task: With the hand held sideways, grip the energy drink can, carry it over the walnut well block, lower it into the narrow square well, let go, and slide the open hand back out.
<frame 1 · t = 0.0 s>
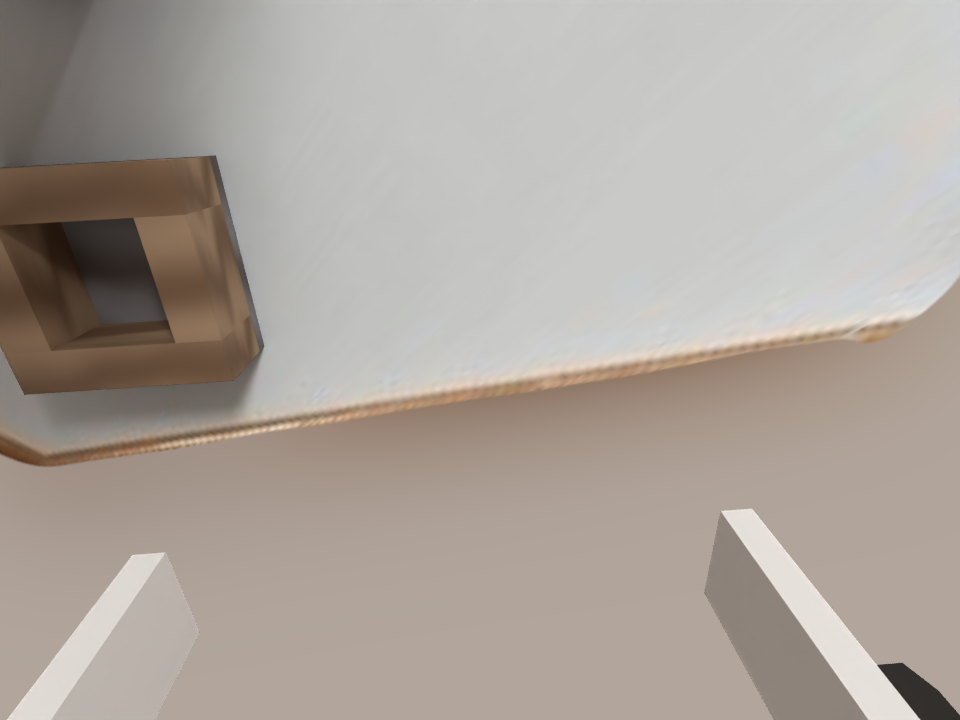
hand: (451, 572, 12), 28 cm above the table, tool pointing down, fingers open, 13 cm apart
well block: (145, 264, 36), on the table
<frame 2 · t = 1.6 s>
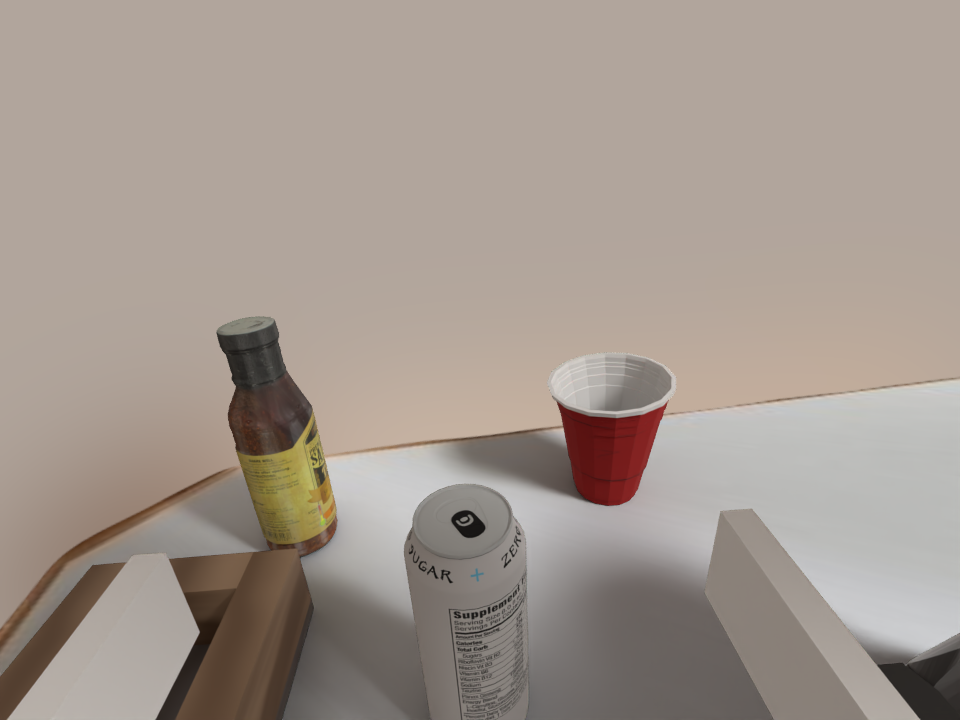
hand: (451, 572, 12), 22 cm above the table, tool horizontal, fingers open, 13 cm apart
energy drink can: (479, 708, 30), on the table
plastic cup: (602, 488, 48), on the table
well block: (170, 717, 30), on the table
sauce bottle: (304, 535, 44), on the table
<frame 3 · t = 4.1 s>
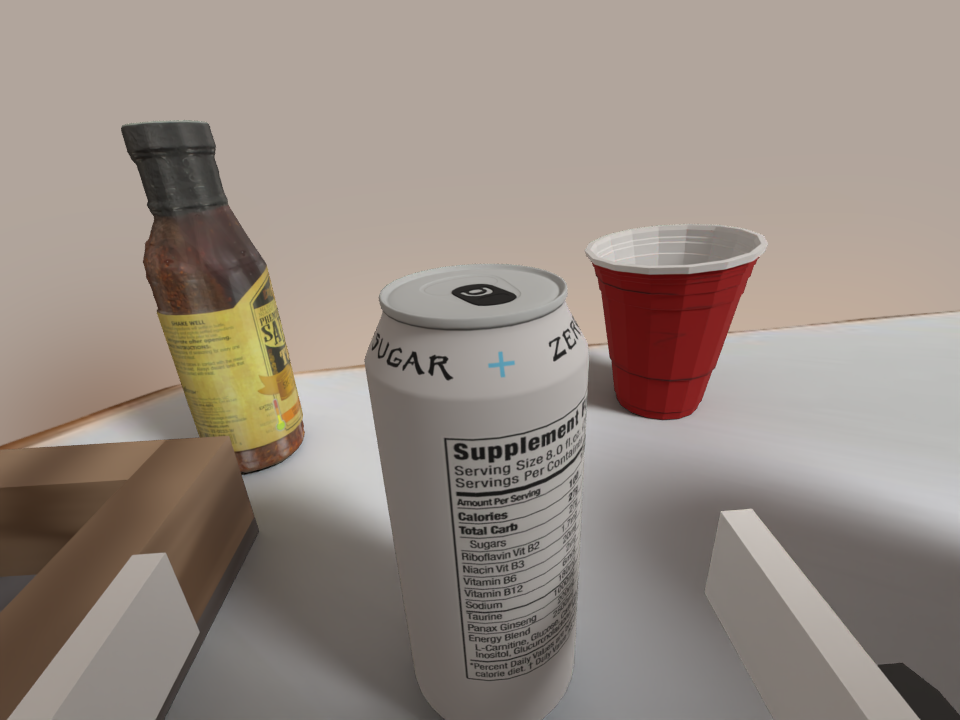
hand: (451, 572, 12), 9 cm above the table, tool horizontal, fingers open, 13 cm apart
energy drink can: (494, 666, 19), on the table
plastic cup: (653, 402, 37), on the table
well block: (18, 670, 20), on the table
sauce bottle: (260, 450, 33), on the table
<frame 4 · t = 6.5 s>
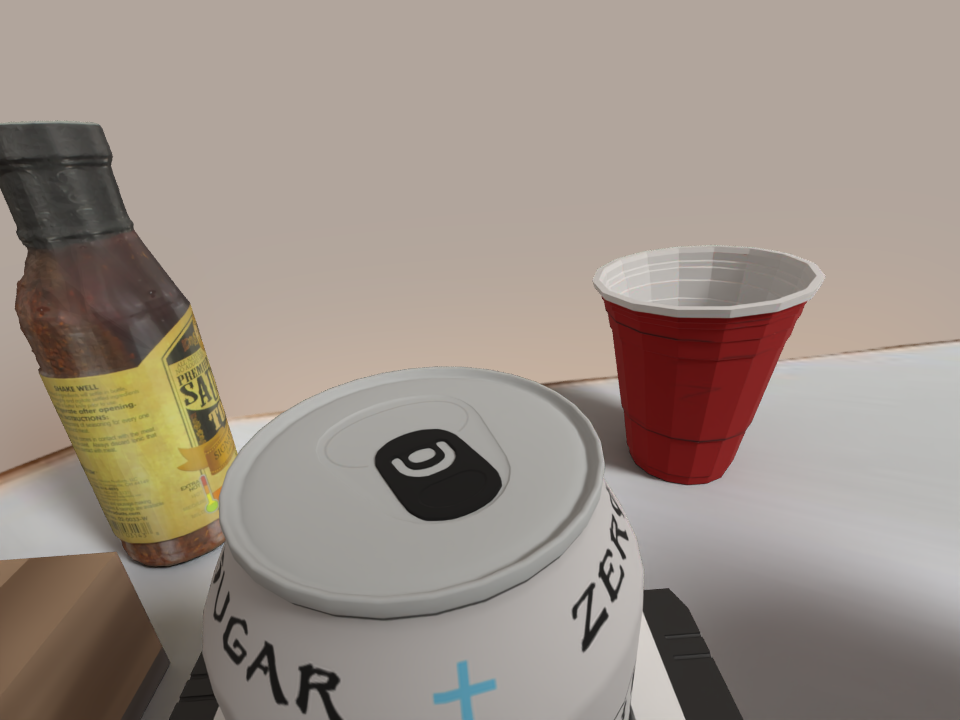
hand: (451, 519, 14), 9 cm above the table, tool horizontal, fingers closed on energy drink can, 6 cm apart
plastic cup: (673, 459, 30), on the table
sauce bottle: (193, 528, 27), on the table
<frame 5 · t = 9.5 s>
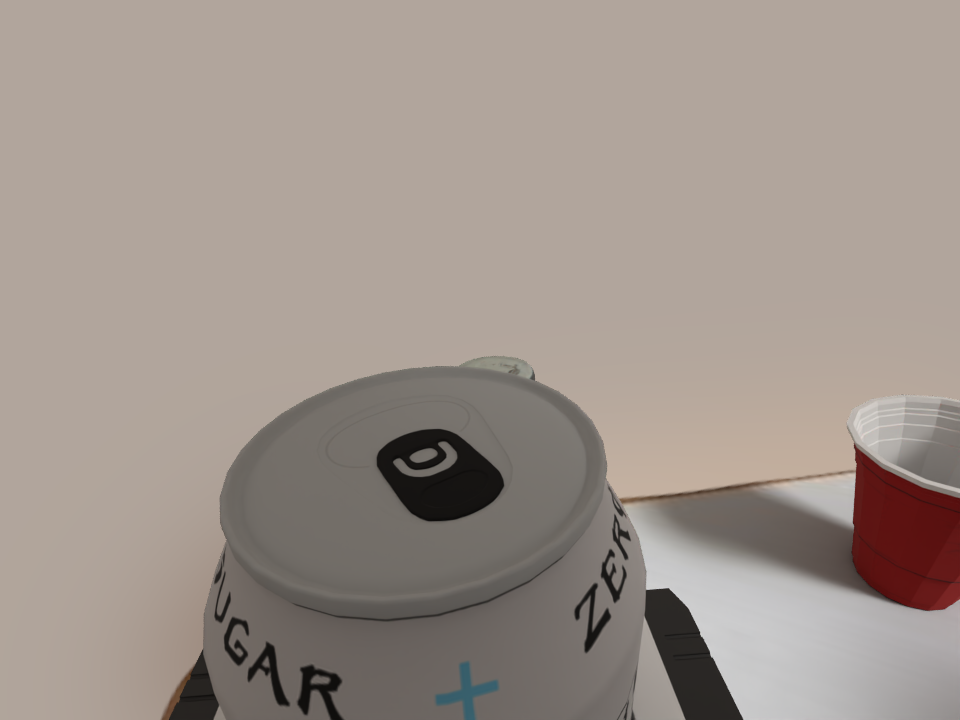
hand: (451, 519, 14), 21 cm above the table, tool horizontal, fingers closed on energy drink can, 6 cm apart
plastic cup: (897, 578, 35), on the table
sauce bottle: (512, 651, 32), on the table
when the fingers open (11 cm above the table, at t = 12.5 s): energy drink can drops 1 cm, resting on well block.
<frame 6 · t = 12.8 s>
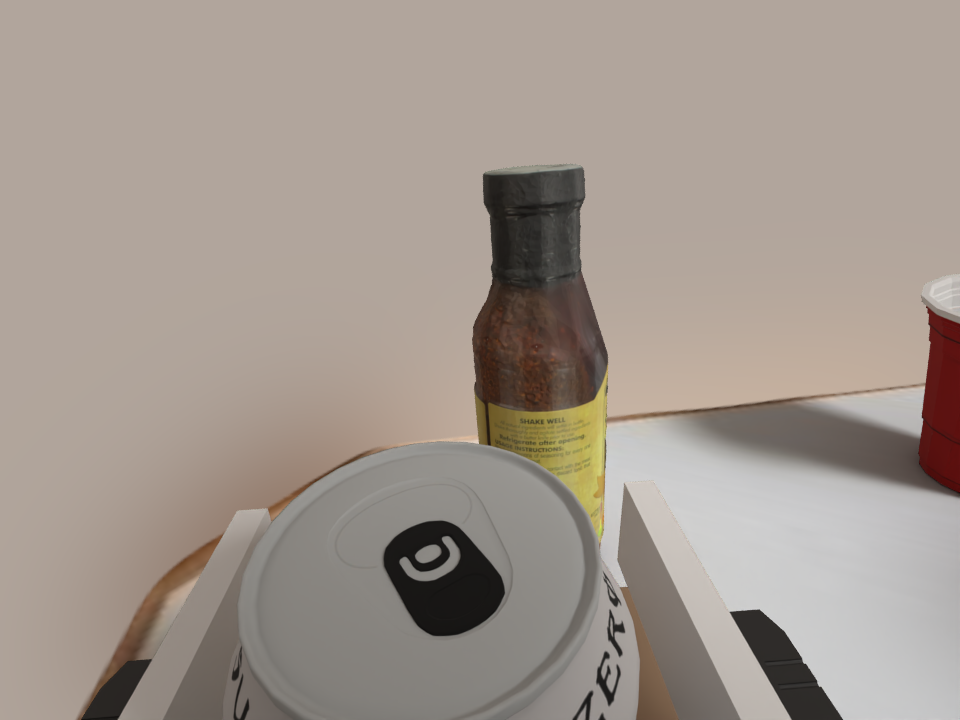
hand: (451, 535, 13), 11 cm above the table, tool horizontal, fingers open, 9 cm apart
sauce bottle: (541, 550, 28), on the table
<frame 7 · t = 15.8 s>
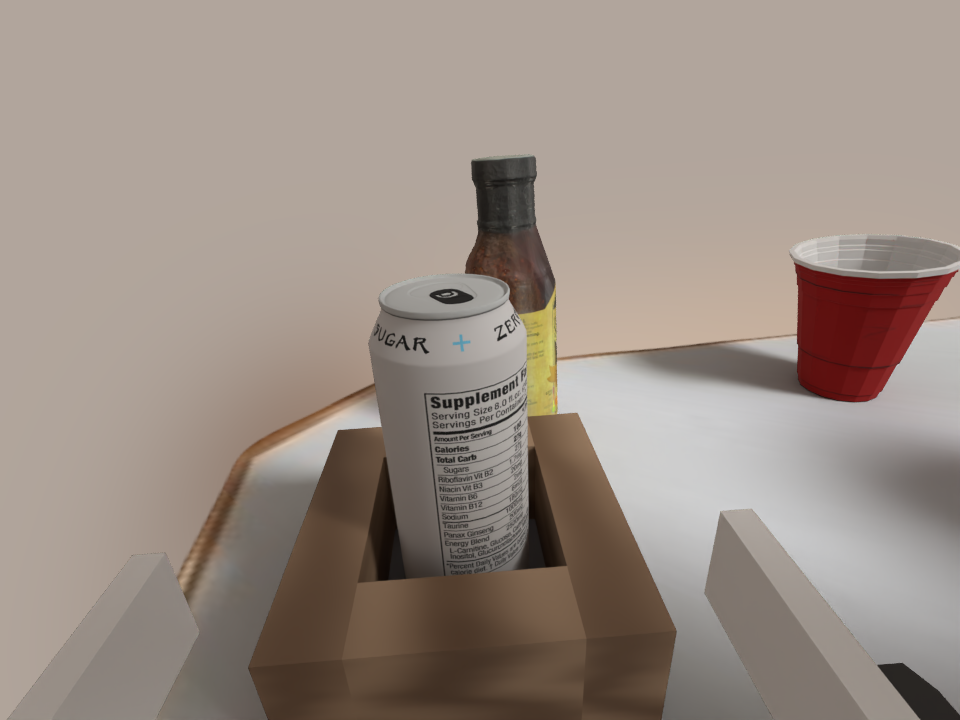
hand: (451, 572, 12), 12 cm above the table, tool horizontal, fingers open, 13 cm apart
energy drink can: (468, 584, 25), point 1 cm above the table, touching well block
plastic cup: (833, 388, 42), on the table
well block: (468, 596, 25), on the table
sauce bottle: (515, 431, 39), on the table
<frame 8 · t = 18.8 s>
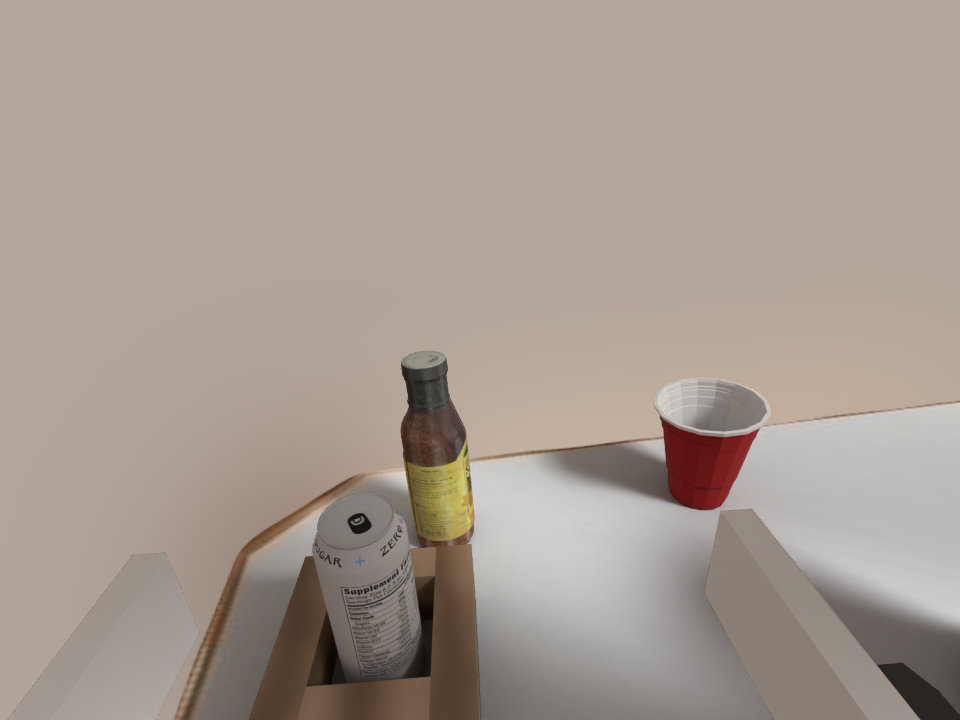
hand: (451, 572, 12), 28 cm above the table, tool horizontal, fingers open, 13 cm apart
energy drink can: (387, 671, 37), point 1 cm above the table, touching well block
plastic cup: (694, 494, 55), on the table
well block: (387, 678, 38), on the table
sauce bottle: (445, 533, 52), on the table
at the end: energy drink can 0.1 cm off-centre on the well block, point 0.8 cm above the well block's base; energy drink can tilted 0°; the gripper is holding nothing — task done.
